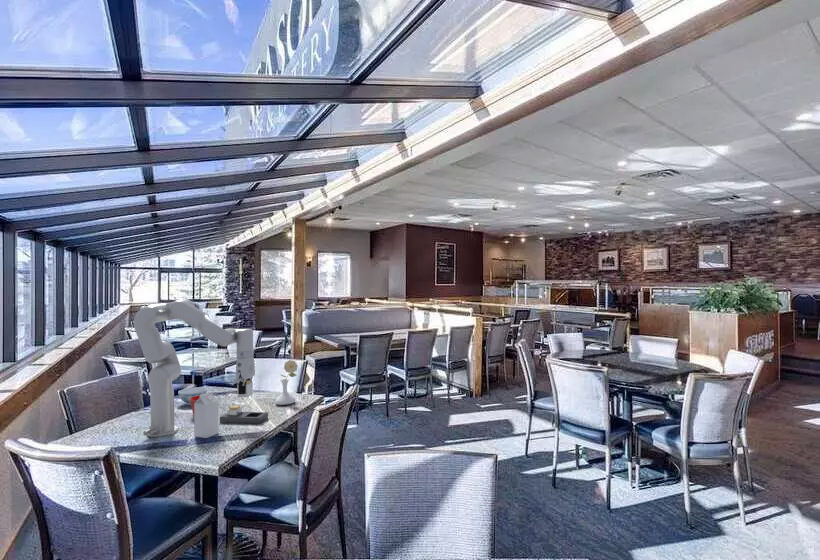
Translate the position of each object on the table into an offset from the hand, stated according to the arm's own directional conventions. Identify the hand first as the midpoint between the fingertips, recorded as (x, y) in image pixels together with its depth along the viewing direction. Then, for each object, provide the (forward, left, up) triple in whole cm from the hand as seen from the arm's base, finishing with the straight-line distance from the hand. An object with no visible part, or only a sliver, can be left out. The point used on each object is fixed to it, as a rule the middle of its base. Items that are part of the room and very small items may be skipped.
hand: (245, 392), depth 201 cm
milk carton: (-11, +13, -17) cm, 24 cm away
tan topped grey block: (+10, +11, -17) cm, 23 cm away
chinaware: (+37, +54, -17) cm, 68 cm away
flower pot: (+16, +34, -17) cm, 41 cm away
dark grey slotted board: (+10, +6, -17) cm, 21 cm away
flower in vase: (+41, -2, -17) cm, 44 cm away
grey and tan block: (0, 0, -2) cm, 2 cm away
